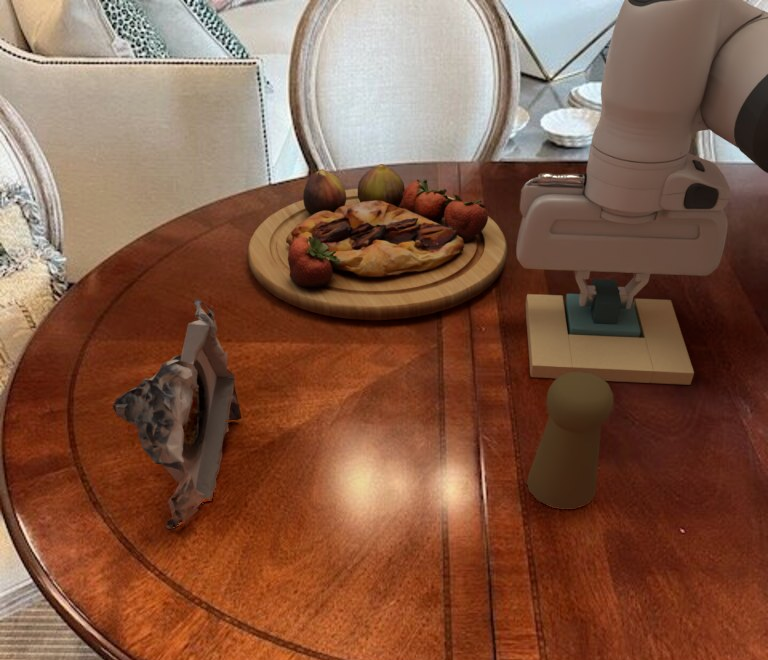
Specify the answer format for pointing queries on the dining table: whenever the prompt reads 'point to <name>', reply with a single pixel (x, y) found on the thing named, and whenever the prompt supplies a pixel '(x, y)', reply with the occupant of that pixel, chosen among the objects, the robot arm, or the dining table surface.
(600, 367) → the base pad
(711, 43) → the robot arm
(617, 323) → the teal pad
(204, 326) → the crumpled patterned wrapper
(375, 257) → the wooden plate
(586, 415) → the olive game pawn
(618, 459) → the dining table surface
